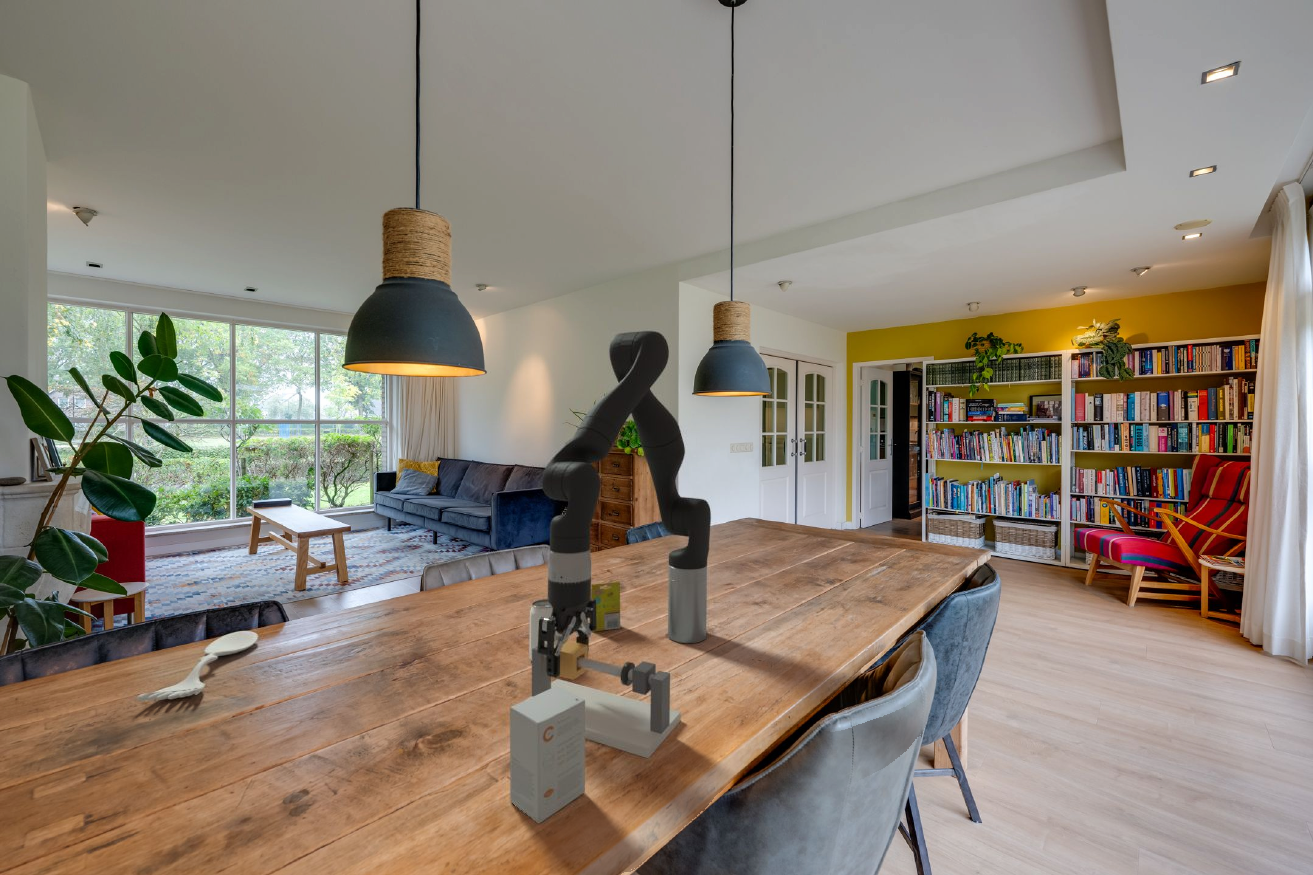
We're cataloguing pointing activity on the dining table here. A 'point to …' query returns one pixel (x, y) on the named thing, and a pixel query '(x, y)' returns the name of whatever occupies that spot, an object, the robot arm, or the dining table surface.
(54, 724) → the dining table surface
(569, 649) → the sleeve
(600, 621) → the crayon box
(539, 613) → the can
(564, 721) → the small box
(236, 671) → the dining table surface
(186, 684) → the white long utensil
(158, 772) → the dining table surface
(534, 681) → the cable stand
